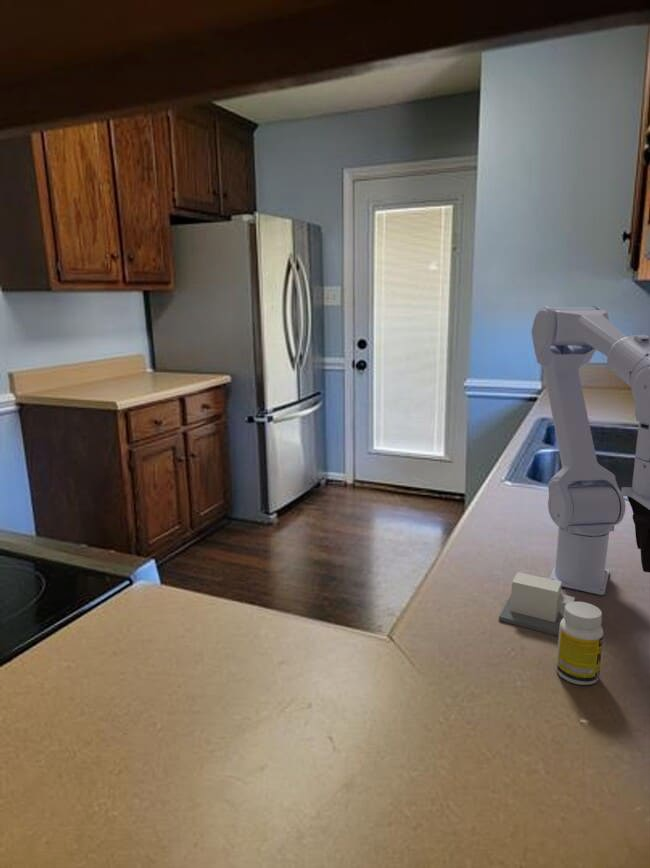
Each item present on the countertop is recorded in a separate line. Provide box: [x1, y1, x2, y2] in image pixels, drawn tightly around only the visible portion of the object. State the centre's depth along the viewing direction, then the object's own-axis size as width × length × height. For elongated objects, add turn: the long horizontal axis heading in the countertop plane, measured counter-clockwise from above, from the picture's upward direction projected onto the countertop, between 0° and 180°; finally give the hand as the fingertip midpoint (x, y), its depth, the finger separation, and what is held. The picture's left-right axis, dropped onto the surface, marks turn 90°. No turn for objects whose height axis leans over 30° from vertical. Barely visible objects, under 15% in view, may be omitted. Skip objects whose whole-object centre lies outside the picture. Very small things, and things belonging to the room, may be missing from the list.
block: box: [510, 571, 576, 622], centre depth 81 cm, size 4×8×4 cm, turn 60°
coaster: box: [498, 595, 564, 637], centre depth 82 cm, size 8×8×1 cm
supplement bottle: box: [555, 601, 604, 686], centre depth 68 cm, size 5×5×8 cm
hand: (648, 560), depth 76 cm, fingers open, 7 cm apart
